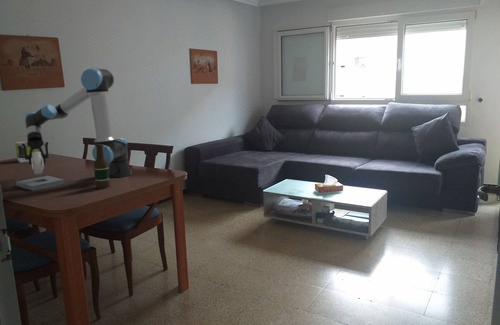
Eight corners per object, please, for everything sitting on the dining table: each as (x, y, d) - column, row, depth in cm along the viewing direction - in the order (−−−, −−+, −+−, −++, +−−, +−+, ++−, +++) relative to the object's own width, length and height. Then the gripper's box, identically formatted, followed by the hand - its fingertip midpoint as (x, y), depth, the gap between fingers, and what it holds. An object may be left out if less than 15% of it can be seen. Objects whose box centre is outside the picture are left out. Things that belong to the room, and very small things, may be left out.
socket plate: (64, 183, 221) (64, 179, 221) (32, 190, 207) (31, 186, 206) (48, 179, 231) (47, 175, 231) (16, 186, 217) (15, 181, 216)
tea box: (39, 158, 300) (37, 139, 298) (42, 160, 293) (40, 141, 290) (17, 161, 291) (15, 141, 288) (19, 163, 284) (17, 143, 281)
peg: (44, 173, 218) (42, 152, 216) (36, 174, 215) (34, 153, 212) (40, 172, 221) (38, 151, 218) (32, 173, 217) (30, 152, 215)
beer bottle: (105, 184, 219) (102, 142, 214) (113, 186, 214) (109, 143, 209) (92, 187, 213) (88, 144, 208) (100, 189, 208) (96, 145, 203)
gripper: (51, 138, 232) (55, 170, 221) (17, 140, 223) (20, 173, 212) (50, 130, 226) (55, 162, 215) (16, 132, 218) (19, 166, 207)
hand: (38, 168), depth 214 cm, fingers closed on peg, 4 cm apart
